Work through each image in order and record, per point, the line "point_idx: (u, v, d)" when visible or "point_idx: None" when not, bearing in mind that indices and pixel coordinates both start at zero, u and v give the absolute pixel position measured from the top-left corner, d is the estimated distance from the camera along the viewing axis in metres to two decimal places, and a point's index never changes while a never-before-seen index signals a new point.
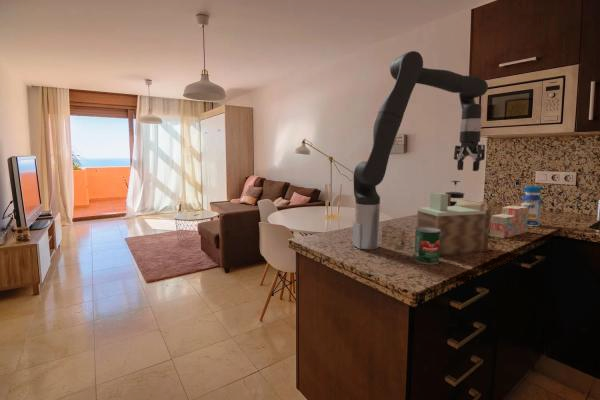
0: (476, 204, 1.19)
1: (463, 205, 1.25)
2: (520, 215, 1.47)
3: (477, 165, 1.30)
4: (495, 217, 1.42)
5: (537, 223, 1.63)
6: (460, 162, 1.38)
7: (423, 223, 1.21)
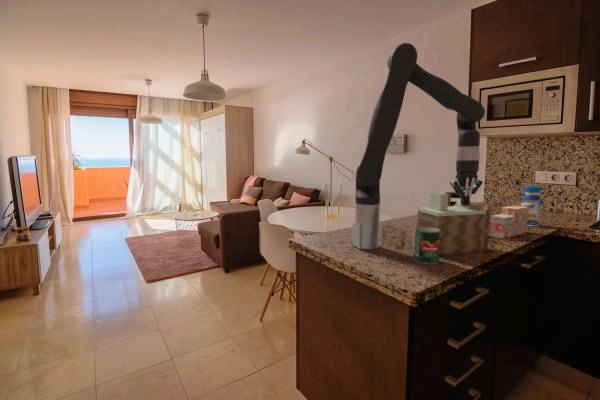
0: (476, 204, 1.19)
1: None
2: (520, 215, 1.46)
3: None
4: (495, 217, 1.42)
5: (537, 223, 1.63)
6: None
7: (423, 223, 1.21)
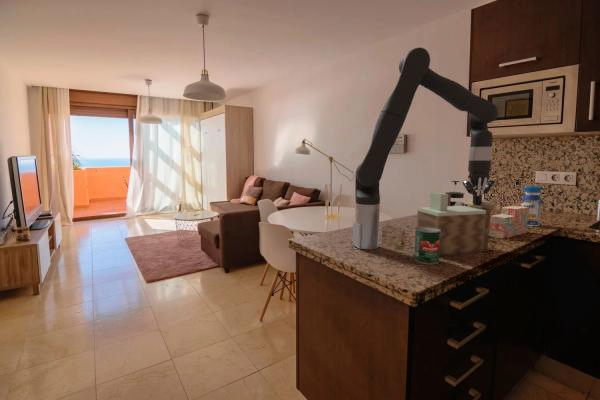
0: (488, 203, 1.20)
1: None
2: (520, 215, 1.46)
3: None
4: (494, 217, 1.42)
5: (537, 223, 1.63)
6: None
7: (423, 223, 1.21)
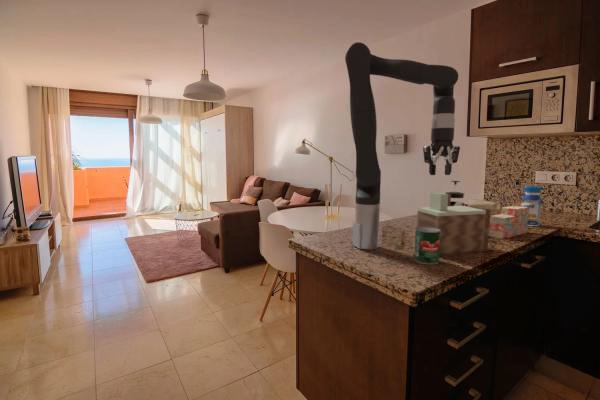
0: (489, 203, 1.20)
1: (475, 204, 1.26)
2: (520, 215, 1.46)
3: None
4: (494, 217, 1.42)
5: (537, 223, 1.63)
6: None
7: (423, 223, 1.21)
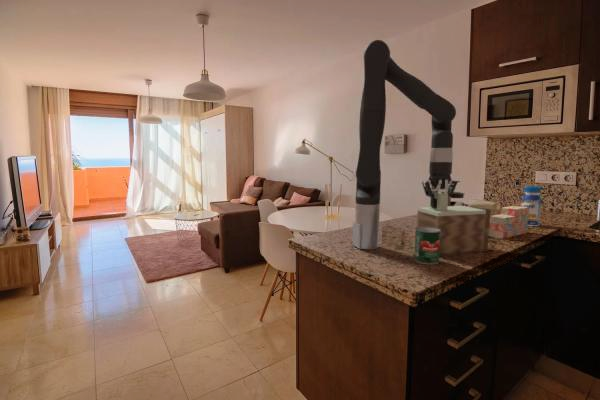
0: (489, 203, 1.20)
1: (475, 204, 1.26)
2: (520, 215, 1.45)
3: None
4: (494, 217, 1.42)
5: (537, 223, 1.63)
6: None
7: (423, 223, 1.21)
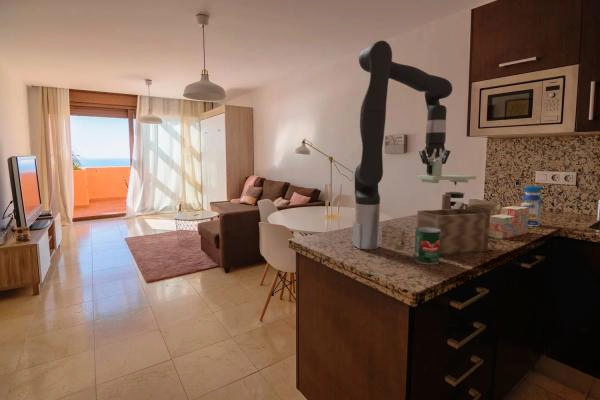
0: (489, 203, 1.20)
1: (475, 204, 1.26)
2: (520, 216, 1.45)
3: None
4: (494, 217, 1.41)
5: (537, 223, 1.63)
6: None
7: (423, 223, 1.21)
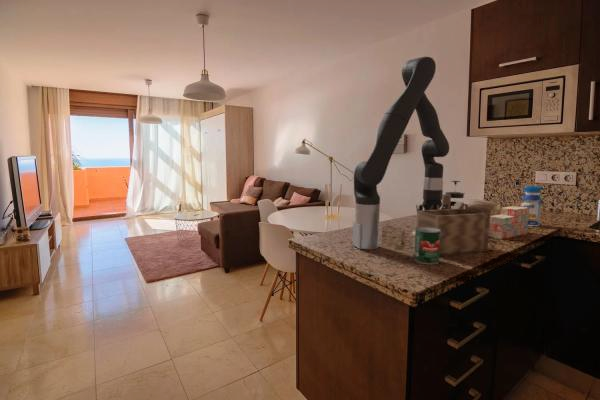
0: (489, 203, 1.20)
1: (475, 204, 1.26)
2: (520, 216, 1.45)
3: None
4: (493, 218, 1.41)
5: (537, 223, 1.63)
6: None
7: (423, 223, 1.21)
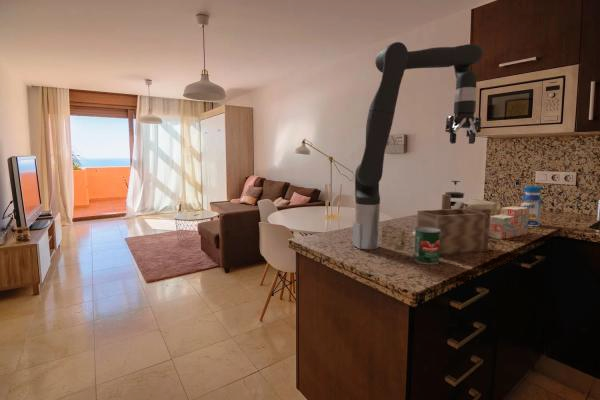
0: (489, 203, 1.20)
1: (475, 204, 1.26)
2: (520, 216, 1.44)
3: None
4: (493, 218, 1.41)
5: (537, 223, 1.63)
6: None
7: (423, 223, 1.21)
